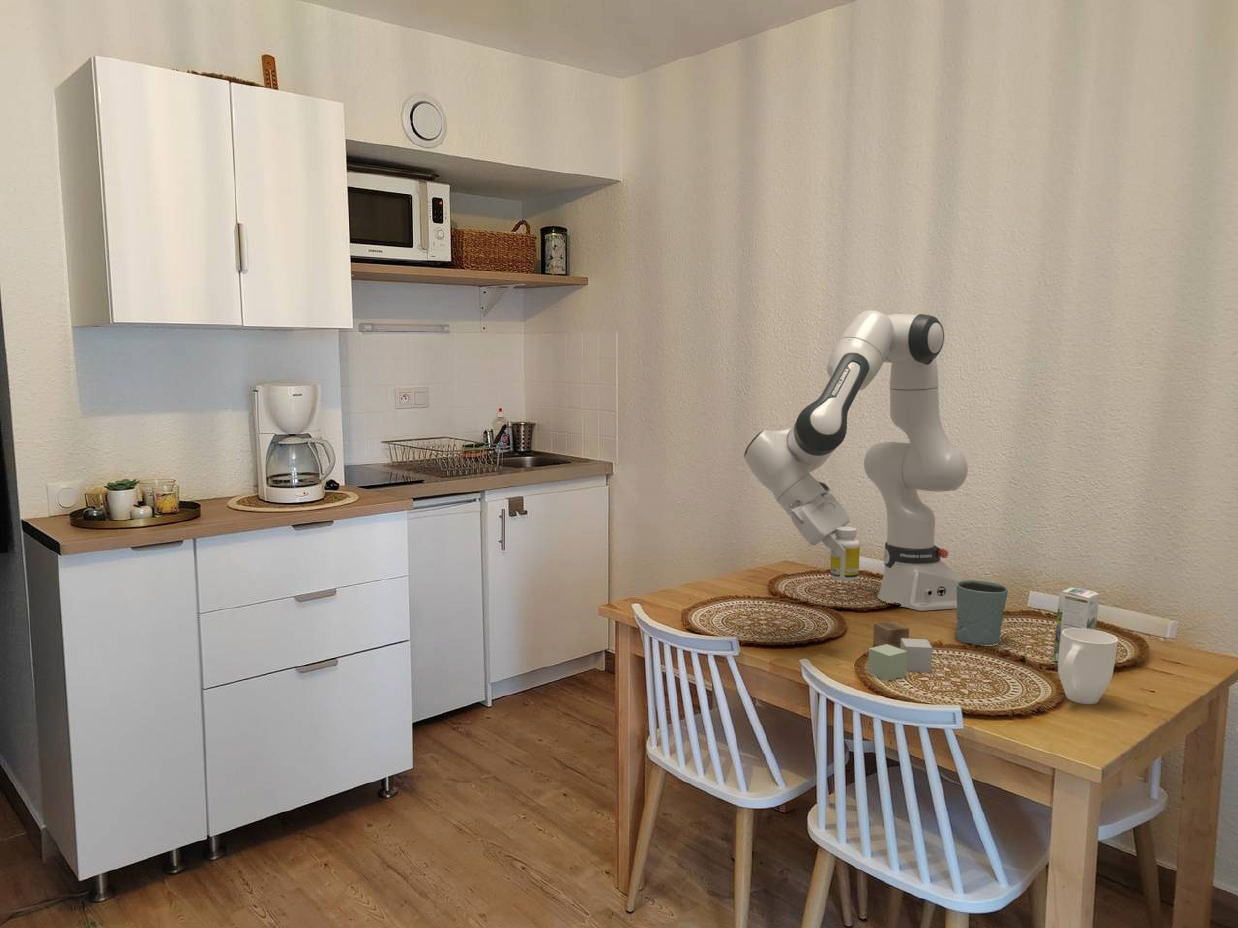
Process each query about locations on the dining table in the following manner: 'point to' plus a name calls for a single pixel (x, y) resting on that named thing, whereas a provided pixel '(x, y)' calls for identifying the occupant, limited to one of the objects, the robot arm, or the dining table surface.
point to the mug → (1086, 663)
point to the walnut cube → (889, 634)
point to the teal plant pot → (980, 611)
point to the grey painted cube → (917, 654)
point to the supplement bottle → (846, 556)
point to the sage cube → (887, 662)
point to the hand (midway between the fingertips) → (848, 550)
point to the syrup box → (1075, 612)
